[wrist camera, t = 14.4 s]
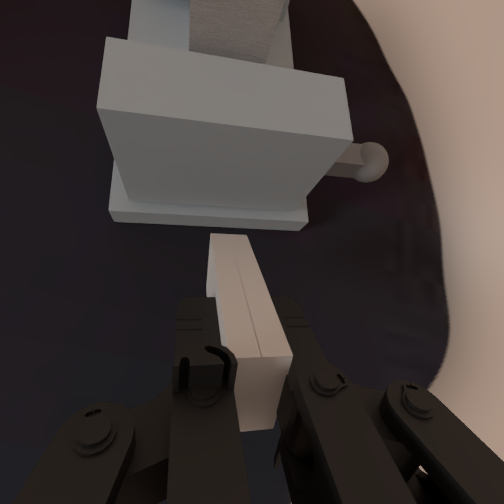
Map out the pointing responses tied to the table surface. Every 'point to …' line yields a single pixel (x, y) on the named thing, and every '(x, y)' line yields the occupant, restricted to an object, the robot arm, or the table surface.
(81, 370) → the table surface
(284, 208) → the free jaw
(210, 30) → the steel block
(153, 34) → the vise
